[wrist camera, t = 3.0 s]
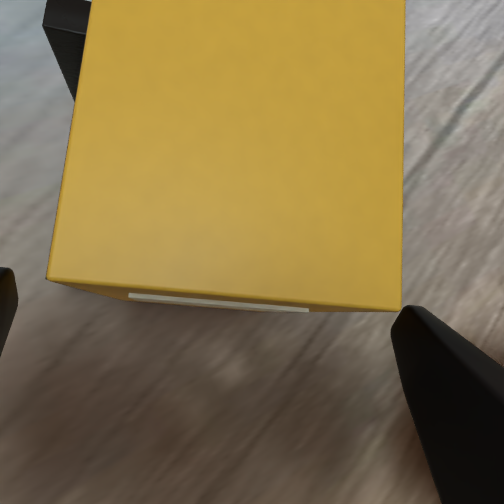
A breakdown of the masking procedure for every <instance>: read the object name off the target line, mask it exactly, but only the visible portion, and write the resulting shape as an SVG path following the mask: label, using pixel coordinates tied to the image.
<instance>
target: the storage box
mask: <svg viewBox="0 0 504 504" xmlns="http://www.w3.org/2000/svg"><path fill="white" fill-rule="evenodd" d="M404 75H405V0H92V3H91V9H90V15H89V21H88V27H87V33H86V39H85V45H84V51H83V57H82V63H81V69H80V75H79V81H78V88H77V94H76V100H75V106H74V112H73V118H72V124H71V130H70V136H69V142H68V148H67V154H66V160H65V166H64V172H63V178H62V184H61V190H60V196H59V202H58V208H57V214H56V220H55V226H54V232H53V238H52V244H51V250H50V256H49V262H48V268H47V274H46V277H47V280H49V281H52V282H55V283H59V284H63V285H67V286H70V287H74V288H78V289H82V290H85V291H89V292H93V293H97V294H100V295H104V296H108V297H112V298H115V299H119V300H125V301H137V302H149V303H161V304H173V305H186V306H198V307H210V308H222V309H234V310H246V311H259V312H286V313H309V312H398V311H400V310H401V305H402V228H403V152H404Z"/></svg>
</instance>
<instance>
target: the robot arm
mask: <svg viewBox="0 0 504 504" xmlns="http://www.w3.org/2000/svg"><path fill="white" fill-rule="evenodd" d="M17 306H18V293H17V288H16V282H15V276H14V272H13V271H12V269H10V268H5V267H0V356H1V354H2V351H3V348H4V345H5V342H6V339H7V336H8V333H9V330H10V327H11V324H12V322H13V319H14V316H15V313H16V310H17ZM391 340H392V344H393V349H394V353H395V357H396V362H397V366H398V370H399V375H400V379H401V383H402V387H403V391H404V394H405V397H406V401H407V404H408V406H409V409H410V412H411V415H412V418H413V421H414V424H415V427H416V430H417V433H418V436H419V439H420V442H421V445H422V448H423V451H424V453H425V456H426V459H427V462H428V465H429V468H430V471H431V474H432V477H433V480H434V483H435V486H436V489H437V492H438V495H439V498H440V501H441V503H442V504H504V368H503V367H502V366H501V365H499V364H498V363H497V362H495V361H494V360H493V359H491V358H490V357H489V356H487V355H486V354H485V353H483V352H482V351H481V350H479V349H478V348H477V347H475V346H474V345H473V344H472V343H470V342H469V341H468V340H466V339H465V338H464V337H462V336H461V335H460V334H458V333H457V332H456V331H454V330H453V329H452V328H450V327H449V326H448V325H446V324H445V323H444V322H442V321H441V320H440V319H438V318H437V317H436V316H434V315H433V314H432V313H430V312H429V311H428V310H426V309H425V308H424V307H421V306H414V305H407V306H405V307H403V309H402V310H401V312H400V314H399V315H398V317H397V319H396V320H395V322H394V324H393V325H392V328H391Z"/></svg>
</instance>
